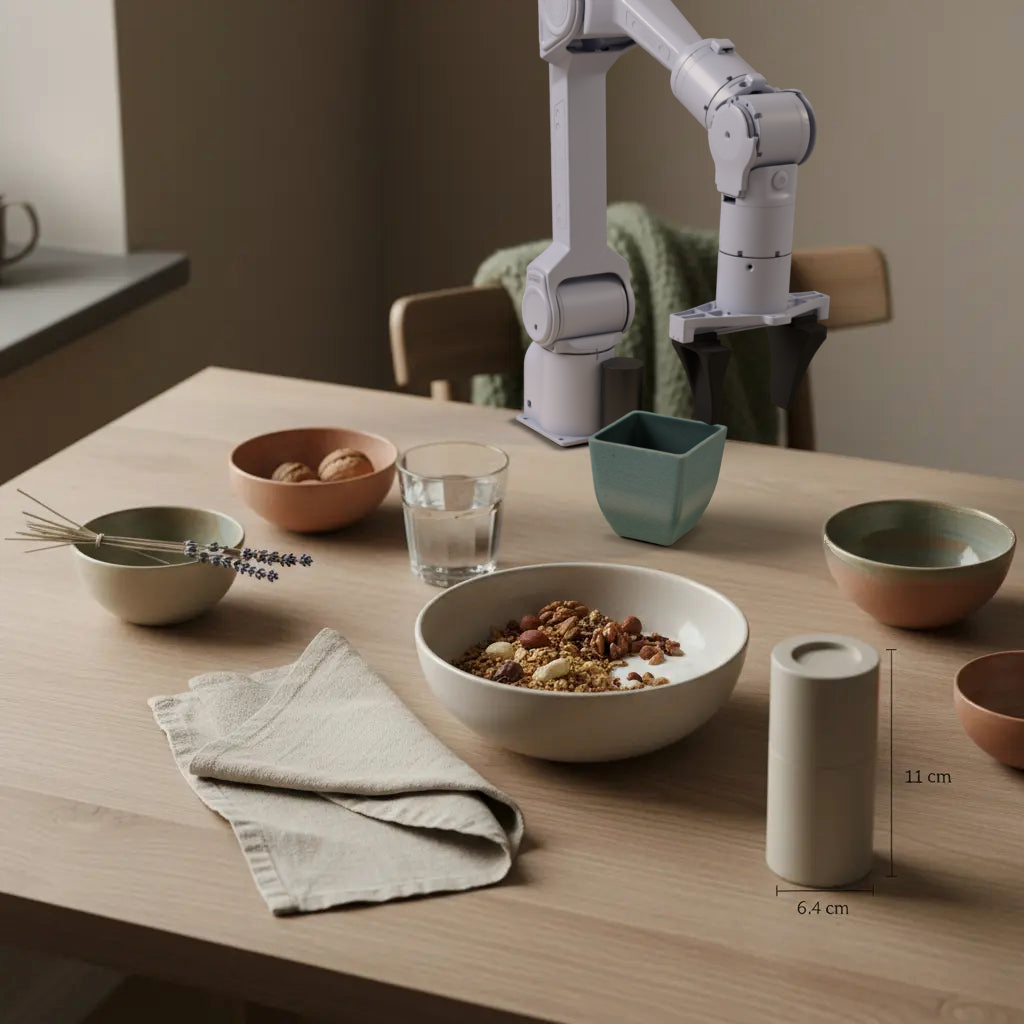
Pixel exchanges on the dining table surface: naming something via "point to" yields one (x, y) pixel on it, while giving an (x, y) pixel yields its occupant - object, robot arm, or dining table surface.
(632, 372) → the cylinder
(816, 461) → the dining table surface
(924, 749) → the dining table surface
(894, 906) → the dining table surface
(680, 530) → the flower pot
